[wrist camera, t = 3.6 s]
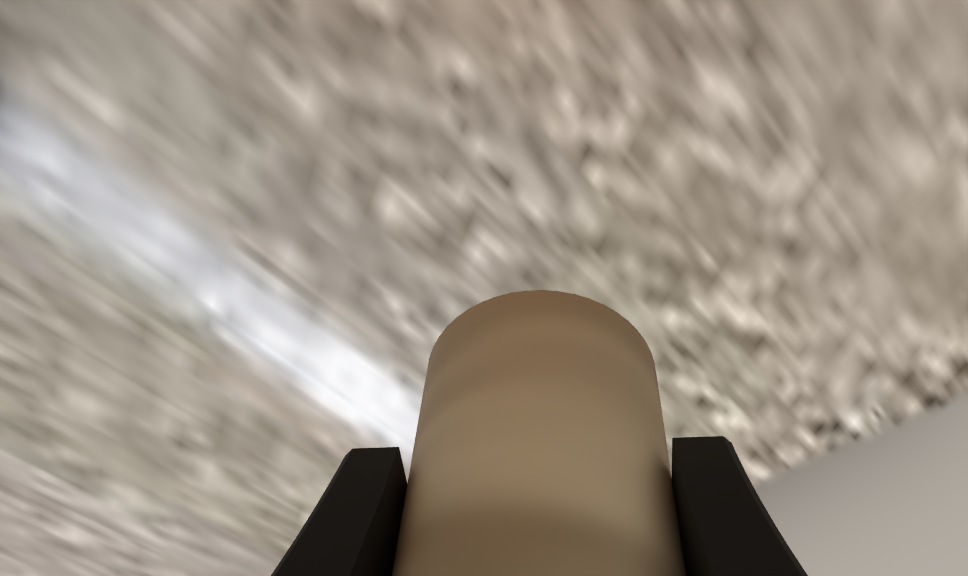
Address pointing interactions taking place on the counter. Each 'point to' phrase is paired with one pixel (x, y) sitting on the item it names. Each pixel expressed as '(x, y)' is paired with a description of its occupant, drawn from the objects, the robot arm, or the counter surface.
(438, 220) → the counter surface
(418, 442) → the dowel
